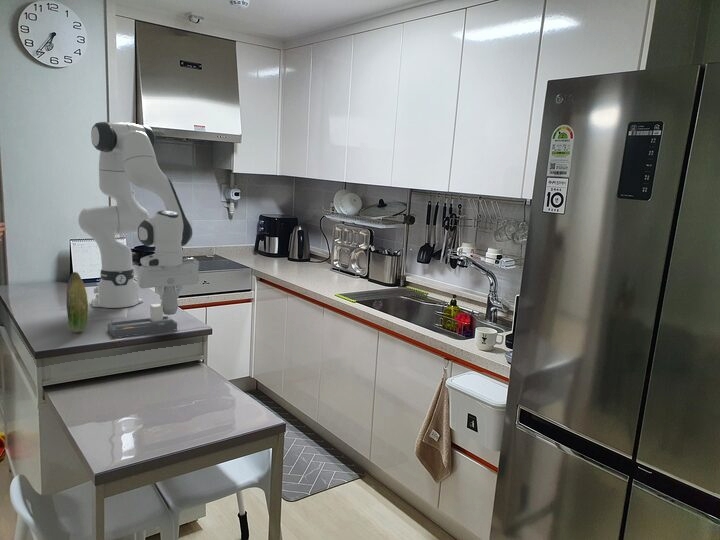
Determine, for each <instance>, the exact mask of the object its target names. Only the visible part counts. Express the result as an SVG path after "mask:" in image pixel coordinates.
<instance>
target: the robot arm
mask: <svg viewBox="0 0 720 540" xmlns="http://www.w3.org/2000/svg"><path fill="white" fill-rule="evenodd" d="M90 139H91V144H92V145H93V147H94V148H95V149H96V150H98V151H100V152H99V157H98V159H99V160H98V181H99V182H98V186H99V190H100V191H101V193H103V194H104V195H106V196H107V197H110V198H111V199H114V200H115V202H116V205H113V206H112V205H103V206H102V205H96V206H95V205H94V206H89V207H84V208H82V210H81V211H80V212H79V215H78V219H77V220H78V226H79V227H80V229H81V230H82V231H83V232H84V233H85V234H87V235H88V236H90V237H91V238H92V240H94V242H95V243H96V244H97V247H98V249H99V253H100V261H101V269H100V274H99V275H100V276H99V277H100V281H99V283H98V285H97V286H95V287H93V293H94V294H95V295H94V296H93V298H92V305H91V306H92V307H95V308H96V307H97V308H108V309H109V308H111V309H112V308H113V309H116V308H117V309H119V308H127V307H133V306H136V305H138V304H141V303H143V302H144V300H143V298H140V294H139V288H140V289H151V288H156V291H157V292H158V294H159V300H161V301H162V300H163V299H164V294H163V292H162V290H163V288H164V287H167V286H175V291H176V298H177V299H179V297H180V296H179V295H180V292H181V291H182V289H183V286H190V285H198V284H199V283H200V273H199V268H200V261H199V260H198V259H197V258H195V257H190V258H189V257H183V247H184V246H186V245H187V244H188V243H189V242H190V241H191V239H192V236H193V228H192V225H191V223H190V221H189V220H188V218H187V217H186V214H185V212H184V210H183V207H182V205H181V202H180V199H179V197H178V194H177V192H176V190H175V187H174V185H173V183H172V180H171V179H170V178H169V177H168V176H167V175H166V174H165V173H164V172H163V171H162V169H161V168H160V166H159V164H158V161H157V156H156V153H155V149H154V148H155V146H156V134H155V133H154V131H153V129H152V128H151V127H150V126H148V125H145V124H136V123H133V122H131V123H130V122H114V121H113V122H107V121H99V122H95V123H94V124H93V126H92V128H91V132H90ZM132 184H133V185H134V186H136V187H138V188H139V189H140V188H141V189H143V190H146V191H149V192H151V193H153V194H155V195H156V196H158V197H159V198H160V199H161V201H162V202H163V205H164V207H165V210H159V211H157V212H156V213H155V215H154V216H152V217H151V216H150V215H151V214H150V213H149V211H148V210H147V209H145V207H143V206H142V205H141V204H140V203H139V202H138V200H137V199H136V198H135V195H134V192H133V189H132ZM134 234H135V235H136V234H137V238H138V240H139V241H140V243H141V244H142V245H144V246H145V247H150V248H151V247H153V248H154V247H155V248H154V253H153V254H150V255H145V256H143V257H141V258H140V260H139V261H140V264H141V265H140V266H139V268H138V269H137V280H135V279H134V277H135V276H134V274H135V271H134V268H133V253H132V252H133V250H132V249H131V248H130V247H129V246H128V245H127V244H124V243H122V242H121V241H117V240H116V235H134ZM169 278H174V283H173V284H168V283H167V280H168V279H169Z"/></svg>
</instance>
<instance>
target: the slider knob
mask: <svg viewBox="0 0 720 540" xmlns="http://www.w3.org/2000/svg"><path fill="white" fill-rule="evenodd" d="M149 310H150V315H149V316H150V317H149V318H151V321H152V322H154V321H163V316H164V313H163V306H162V305H161V304H160V303H154V304H150V305H149Z"/></svg>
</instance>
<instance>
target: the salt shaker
mask: <svg viewBox="0 0 720 540" xmlns="http://www.w3.org/2000/svg"><path fill="white" fill-rule="evenodd" d="M167 283H168V284H173V283H174V278H169V279H168V280H167ZM162 290H163V292H162V293H163V294H164V299H163V300H161V304H160V305H162V306H163V315H164V316H170V315H175V314H176V313H177V312H178V309H179V303H178V298H176V286H167V287H163V289H162Z"/></svg>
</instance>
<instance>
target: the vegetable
mask: <svg viewBox="0 0 720 540" xmlns="http://www.w3.org/2000/svg"><path fill="white" fill-rule="evenodd" d="M85 285H86V284H85V283H84V281H83V279H82V278H81V276H80V274H79V272H76V271H73V272H72V273H71V274H70V277H69V279H68V282H67V285H66V313H67V323H68V324H67V325H68V328H69V330H70V331H71V332H73V333H77V334H78V333H81V332H83V330H85V328H86V326H87V323H88V319H89V318H88V315H89V301H88V293H87V290H86V286H85Z"/></svg>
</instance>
